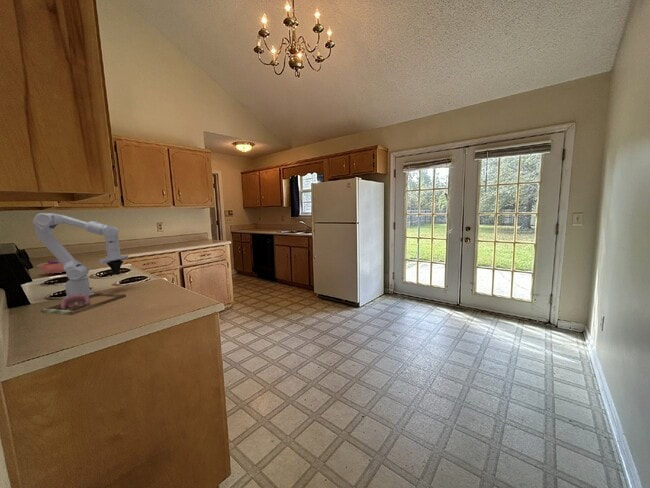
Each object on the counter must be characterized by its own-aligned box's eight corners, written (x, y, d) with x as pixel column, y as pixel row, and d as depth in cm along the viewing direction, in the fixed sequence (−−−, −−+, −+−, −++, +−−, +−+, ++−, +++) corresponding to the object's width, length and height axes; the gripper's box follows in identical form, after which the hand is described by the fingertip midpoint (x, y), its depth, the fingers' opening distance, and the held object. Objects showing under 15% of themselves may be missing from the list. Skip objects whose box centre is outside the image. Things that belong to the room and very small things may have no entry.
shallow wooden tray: (41, 312, 119) (40, 309, 119) (98, 294, 142) (97, 292, 142) (72, 314, 115) (72, 311, 115) (125, 296, 138) (125, 294, 138)
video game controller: (91, 307, 128) (89, 292, 130) (90, 305, 125) (88, 290, 126) (62, 312, 122) (61, 297, 124) (60, 310, 119) (59, 295, 120)
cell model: (40, 274, 197) (37, 258, 196) (77, 269, 210) (75, 255, 209) (37, 278, 185) (35, 261, 183) (77, 273, 198) (75, 257, 196)
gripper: (105, 251, 137) (108, 278, 139) (131, 247, 151) (134, 271, 153) (94, 251, 139) (98, 277, 140) (121, 247, 153) (124, 271, 154)
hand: (116, 274), depth 147 cm, fingers closed
